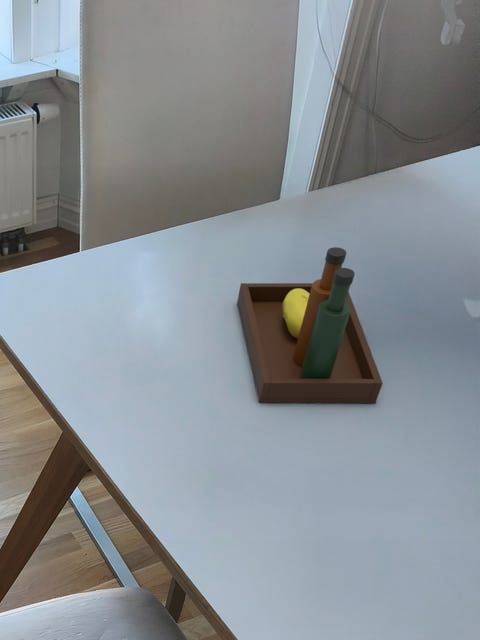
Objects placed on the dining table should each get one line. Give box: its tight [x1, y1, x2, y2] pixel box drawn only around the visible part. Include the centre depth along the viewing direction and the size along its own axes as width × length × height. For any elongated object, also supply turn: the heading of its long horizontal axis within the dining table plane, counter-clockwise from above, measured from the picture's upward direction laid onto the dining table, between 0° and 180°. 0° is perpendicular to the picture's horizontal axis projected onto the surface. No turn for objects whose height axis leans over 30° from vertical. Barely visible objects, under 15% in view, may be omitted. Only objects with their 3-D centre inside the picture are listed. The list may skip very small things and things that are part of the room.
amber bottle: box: [293, 246, 347, 366], centre depth 96 cm, size 3×3×13 cm
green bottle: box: [299, 267, 356, 379], centre depth 93 cm, size 3×3×13 cm
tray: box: [236, 282, 384, 404], centre depth 102 cm, size 13×21×3 cm, turn 177°
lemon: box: [282, 288, 309, 339], centre depth 103 cm, size 4×8×4 cm, turn 170°
